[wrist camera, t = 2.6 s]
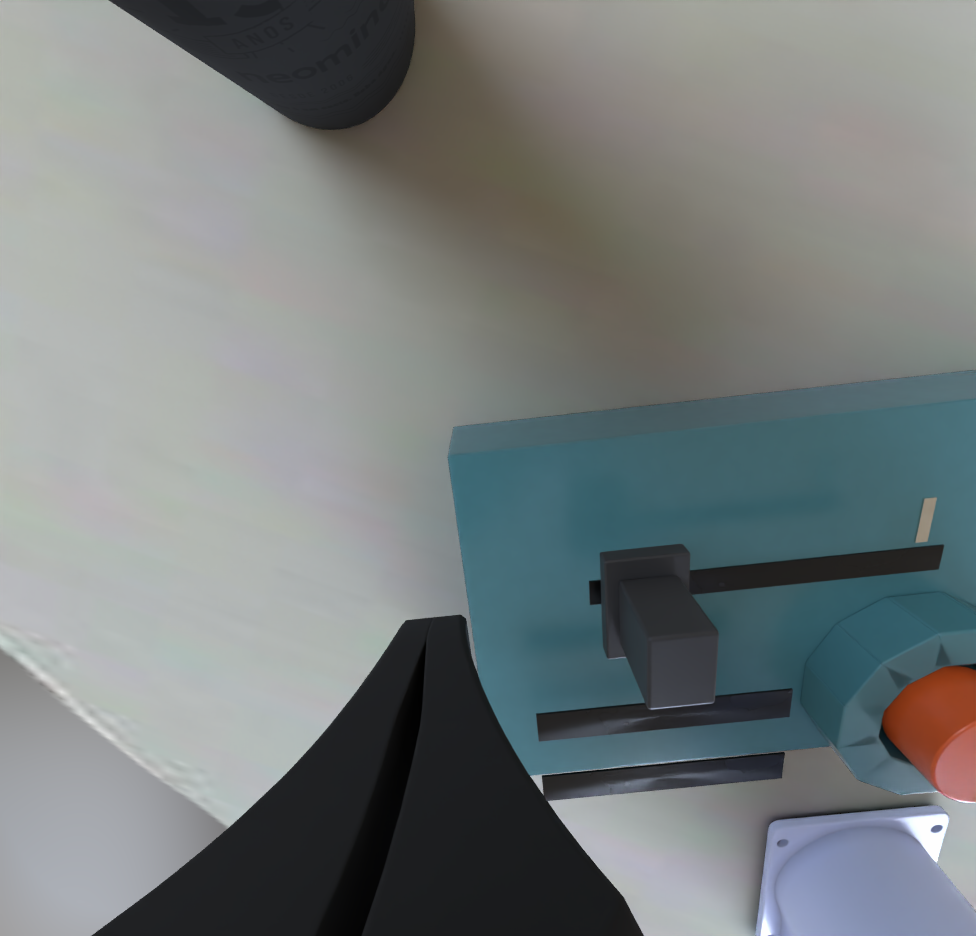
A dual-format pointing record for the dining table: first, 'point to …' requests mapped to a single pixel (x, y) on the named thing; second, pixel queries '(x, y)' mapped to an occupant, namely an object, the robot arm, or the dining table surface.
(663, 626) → the slider
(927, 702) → the button
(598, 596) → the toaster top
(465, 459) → the teal control box
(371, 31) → the drinking cup
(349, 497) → the dining table surface
